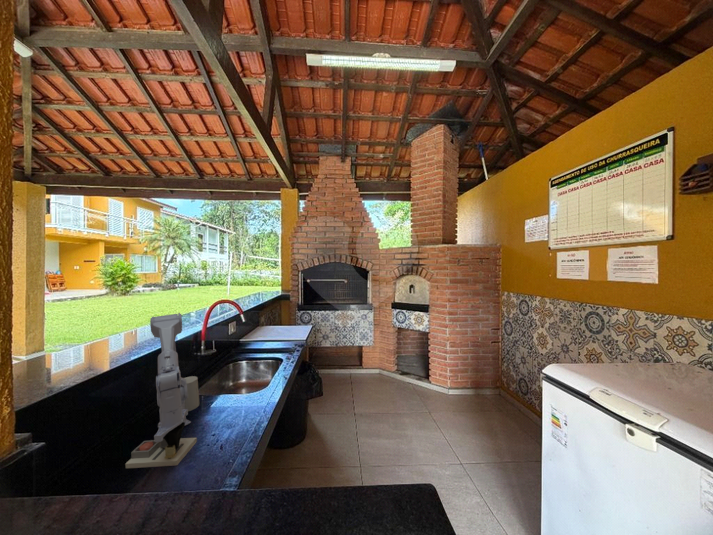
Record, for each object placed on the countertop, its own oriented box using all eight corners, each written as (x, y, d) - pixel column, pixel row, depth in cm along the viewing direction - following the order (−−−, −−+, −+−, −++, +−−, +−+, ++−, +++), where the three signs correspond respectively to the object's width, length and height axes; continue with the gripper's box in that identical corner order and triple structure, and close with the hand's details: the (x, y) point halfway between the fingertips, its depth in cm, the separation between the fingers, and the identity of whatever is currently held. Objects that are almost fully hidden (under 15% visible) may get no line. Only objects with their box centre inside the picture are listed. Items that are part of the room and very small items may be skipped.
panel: (125, 468, 86) (124, 457, 86) (151, 444, 97) (150, 434, 97) (177, 465, 86) (176, 454, 86) (196, 441, 97) (196, 432, 97)
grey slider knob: (160, 448, 92) (159, 438, 92) (163, 444, 94) (163, 434, 94) (168, 447, 92) (167, 437, 92) (172, 443, 94) (171, 434, 94)
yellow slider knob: (164, 458, 87) (163, 448, 87) (168, 454, 89) (167, 444, 89) (173, 457, 87) (172, 447, 87) (176, 453, 89) (176, 444, 89)
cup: (184, 402, 125) (182, 377, 125) (202, 401, 126) (200, 375, 125) (173, 413, 117) (171, 385, 116) (193, 411, 118) (191, 383, 117)
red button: (137, 456, 89) (136, 449, 89) (145, 448, 93) (145, 442, 93) (148, 455, 89) (147, 448, 89) (156, 447, 93) (155, 441, 93)
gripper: (172, 397, 96) (175, 435, 97) (142, 422, 82) (146, 466, 82) (192, 396, 97) (195, 433, 97) (166, 420, 82) (170, 464, 83)
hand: (174, 448), depth 90 cm, fingers closed
